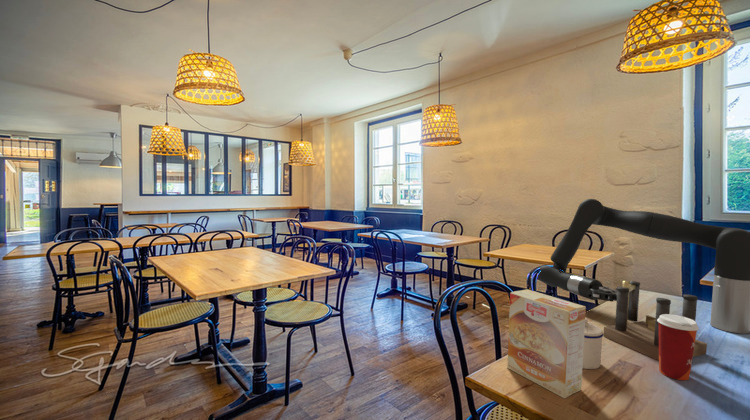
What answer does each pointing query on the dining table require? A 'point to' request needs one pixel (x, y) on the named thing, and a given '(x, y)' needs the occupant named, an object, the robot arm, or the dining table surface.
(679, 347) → the paper cup
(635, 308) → the grey post frame
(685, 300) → the base with upright pegs
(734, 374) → the dining table surface
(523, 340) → the coffeecake box
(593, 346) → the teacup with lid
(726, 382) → the dining table surface
